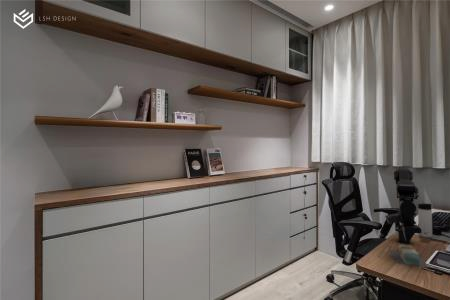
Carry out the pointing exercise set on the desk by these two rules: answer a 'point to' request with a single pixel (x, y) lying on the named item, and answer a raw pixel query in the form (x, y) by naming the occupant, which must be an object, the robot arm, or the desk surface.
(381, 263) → the desk surface
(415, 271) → the desk surface
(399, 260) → the mat
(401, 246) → the ash block
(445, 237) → the desk surface
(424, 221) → the travel mug
